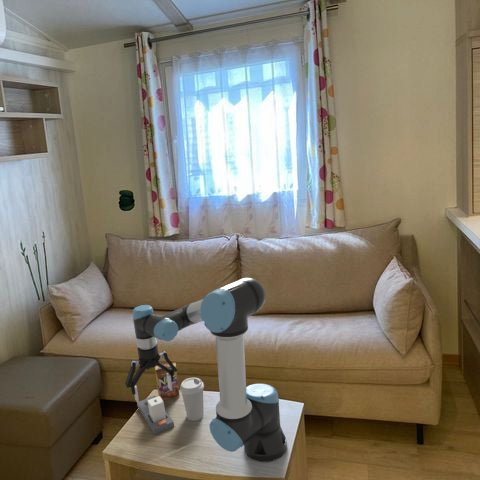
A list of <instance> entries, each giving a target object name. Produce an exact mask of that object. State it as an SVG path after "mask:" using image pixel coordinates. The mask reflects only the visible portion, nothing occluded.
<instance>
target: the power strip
mask: <svg viewBox="0 0 480 480" xmlns="http://www.w3.org/2000/svg"><path fill="white" fill-rule="evenodd" d="M155 397H157V396H156V395H153V396H150V397H147V398H145V399H142V400H139V402H138V403H137V402H136V403H137V404H136V405H137V408H138V409H139V411H140V413H141V415H142V416H143V418H144V419H145V421H146V423H147V424H148V426H149V428H150V430H151V431H152V432H153V434H154V435H157V434H158V433H162V432H164V431H166V430H169V429H172V428H174V427H175V424H174V423H175V422H174V420H173V419H172V417H171V416H170V414H169V413H168V412H167V410H166V409H165V414H166V419H163V420H161V421H158V422H155V423H152V422H151V420H150V414H149V407H148V401H147V400H150V399H152V398H155Z"/></svg>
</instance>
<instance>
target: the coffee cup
mask: <svg viewBox="0 0 480 480" xmlns="http://www.w3.org/2000/svg"><path fill="white" fill-rule="evenodd" d="M204 388H205V383H204V382H203V381H202V379H201V378H198V377H188V378H185V379H184V380H183V381H182V382H181V384H180V386H179V392H180V393H181V396H182V399H183V404H184V409H185V412H186V417H187V419H188V420H189V421H192V422H195V421H196V422H197V421H199V420H201V419H202V418H204V416H205V414H204V413H205V412H204V409H205V408H204Z"/></svg>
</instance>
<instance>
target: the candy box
mask: <svg viewBox="0 0 480 480" xmlns="http://www.w3.org/2000/svg"><path fill="white" fill-rule="evenodd" d="M162 364H163V365H165V366H166V367H168V368H169V369H172V368H171V366H170V365H169V364H168V363H162ZM172 364H173V365H174V366H175V367H176V368H177V364H176V361H174V362H173V361H172ZM154 371H155V372H154V373H155V380H156V387H157V394H158V396H160V397H161V399H162V400H163V401H166V400H170V399H175V398H176V399H177V398H180V386H179V381H178V372H177V371H178V370H177V371H176V372H174V375H173V379H174V380H173V381H172V391H171V390H170V389H169V388H168V381H167V373H168V372H166V371H165V370H163V369H162V368H160V367H159V366H157V365H156V366H155V367H154Z"/></svg>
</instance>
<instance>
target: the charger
mask: <svg viewBox="0 0 480 480" xmlns="http://www.w3.org/2000/svg"><path fill="white" fill-rule="evenodd" d="M147 401H148V407H149V414H150V420H151V422H152V423H155V422H158V421H161V420H163V419H166V414H165V410H166V409H165V402H164V400H162V399H161V397H160V396H159V395H158V396H156V397H155V398H152V399H150V400H147Z"/></svg>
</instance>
